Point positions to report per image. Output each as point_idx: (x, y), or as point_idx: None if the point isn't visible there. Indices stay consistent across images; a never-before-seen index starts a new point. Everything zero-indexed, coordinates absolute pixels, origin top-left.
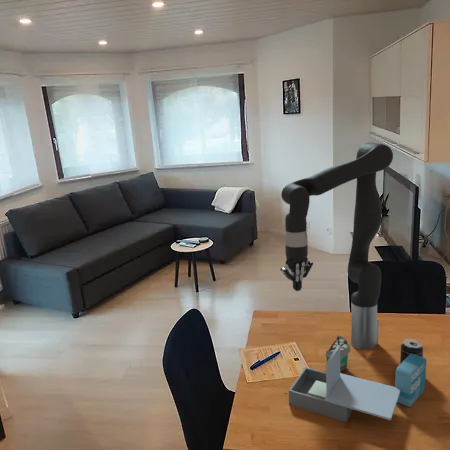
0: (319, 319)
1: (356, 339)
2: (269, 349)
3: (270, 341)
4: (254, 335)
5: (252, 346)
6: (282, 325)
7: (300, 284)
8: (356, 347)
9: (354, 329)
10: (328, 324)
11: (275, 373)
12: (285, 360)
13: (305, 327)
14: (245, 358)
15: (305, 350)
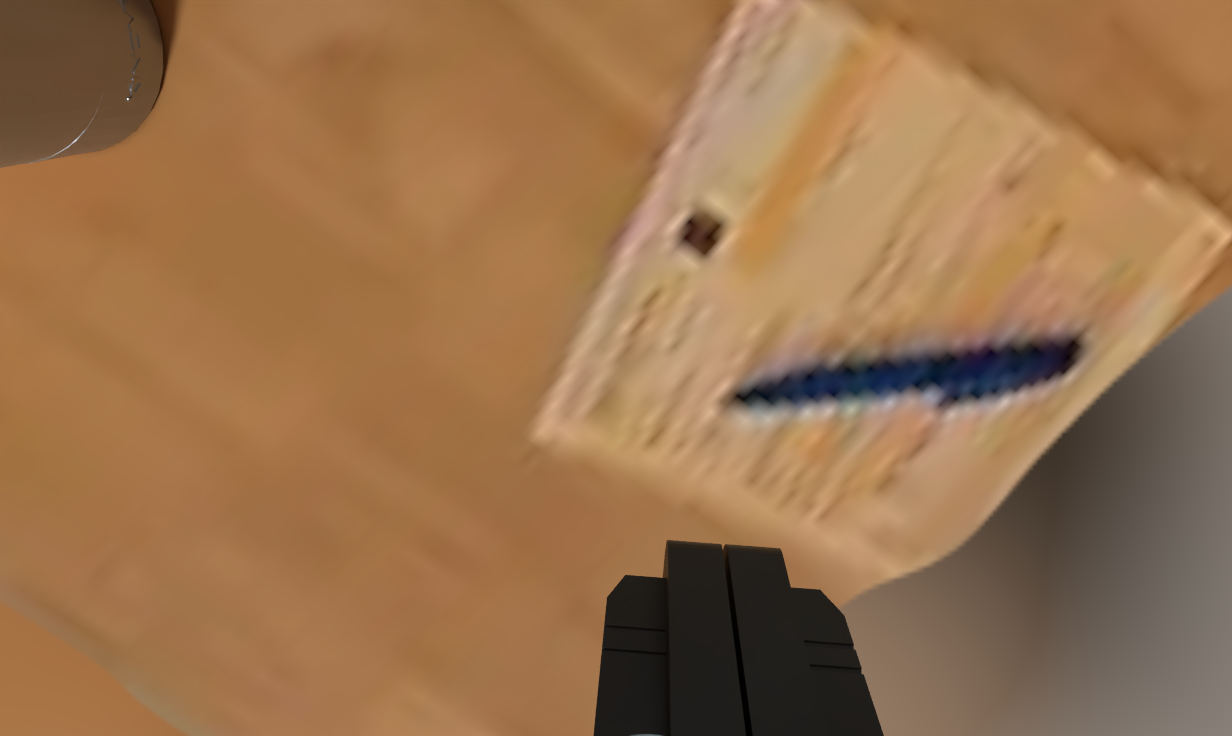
0: (141, 560)
1: (104, 19)
2: (770, 471)
3: None
4: None
5: (841, 579)
6: (451, 664)
7: (686, 640)
8: (154, 21)
9: (43, 46)
10: (125, 462)
11: (984, 177)
12: (785, 273)
13: (318, 539)
14: (1002, 487)
15: (550, 283)
